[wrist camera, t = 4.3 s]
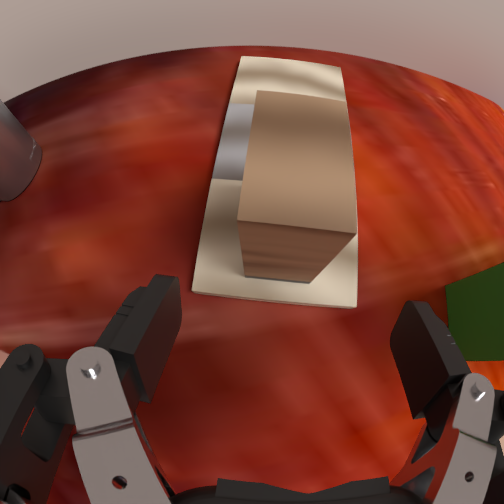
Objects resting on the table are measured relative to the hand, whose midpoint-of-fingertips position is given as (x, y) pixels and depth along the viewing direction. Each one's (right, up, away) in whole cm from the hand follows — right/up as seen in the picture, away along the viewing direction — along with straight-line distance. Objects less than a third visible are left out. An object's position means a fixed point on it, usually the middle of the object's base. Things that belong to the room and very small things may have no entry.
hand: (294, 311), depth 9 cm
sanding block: (+1, +4, +14) cm, 14 cm away
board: (+2, +12, +18) cm, 22 cm away
